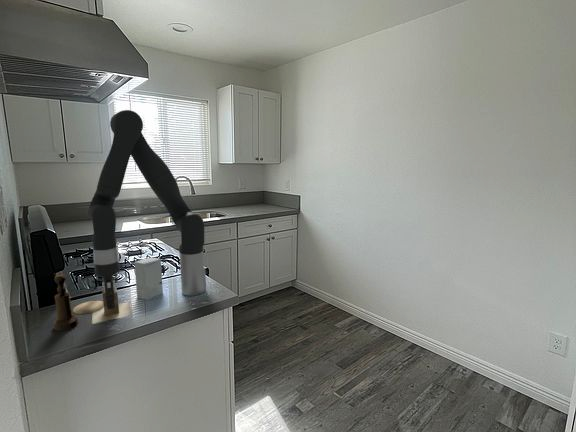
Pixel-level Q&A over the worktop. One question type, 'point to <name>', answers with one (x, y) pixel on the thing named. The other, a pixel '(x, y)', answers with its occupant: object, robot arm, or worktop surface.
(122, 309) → the tile
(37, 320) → the worktop surface
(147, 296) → the skincare box
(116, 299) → the walnut block
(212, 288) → the worktop surface
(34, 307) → the worktop surface
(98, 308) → the cork coaster
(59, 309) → the brown tall tapered piece
